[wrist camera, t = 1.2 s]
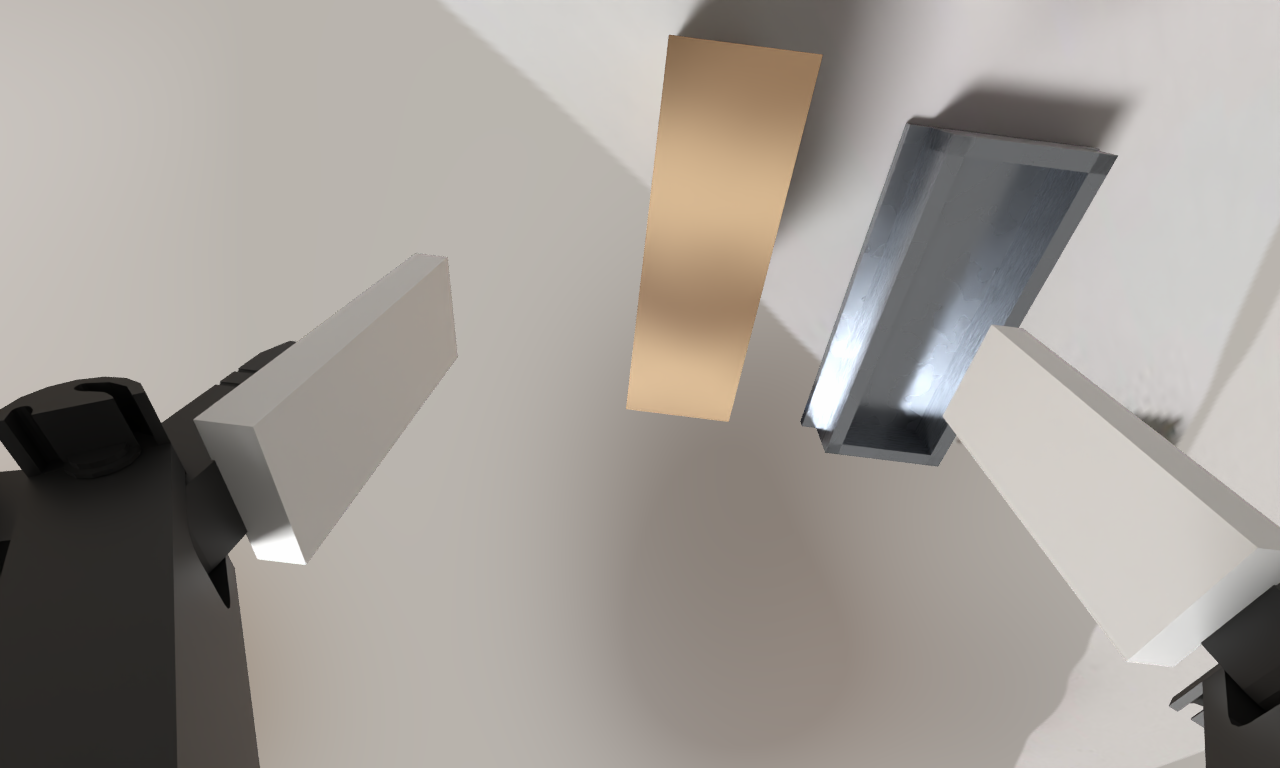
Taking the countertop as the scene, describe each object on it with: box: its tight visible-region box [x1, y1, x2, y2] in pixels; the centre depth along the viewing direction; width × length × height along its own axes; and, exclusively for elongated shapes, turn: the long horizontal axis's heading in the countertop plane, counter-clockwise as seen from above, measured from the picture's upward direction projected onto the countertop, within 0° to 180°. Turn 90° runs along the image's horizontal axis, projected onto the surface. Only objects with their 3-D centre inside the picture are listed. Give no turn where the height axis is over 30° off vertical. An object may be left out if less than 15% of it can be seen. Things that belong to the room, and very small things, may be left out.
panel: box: [626, 35, 823, 422], centre depth 21 cm, size 12×4×12 cm, turn 174°
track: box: [800, 124, 1118, 466], centre depth 28 cm, size 18×9×3 cm, turn 174°
